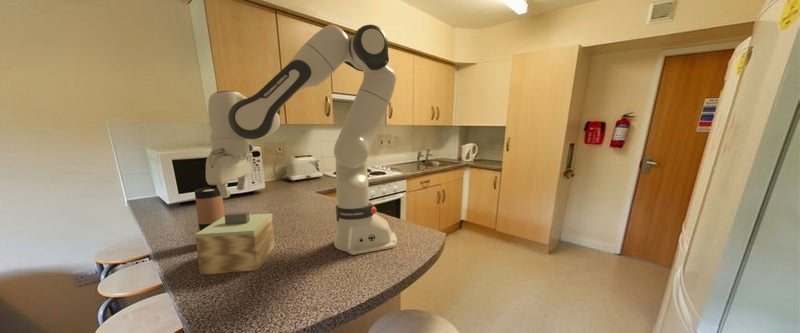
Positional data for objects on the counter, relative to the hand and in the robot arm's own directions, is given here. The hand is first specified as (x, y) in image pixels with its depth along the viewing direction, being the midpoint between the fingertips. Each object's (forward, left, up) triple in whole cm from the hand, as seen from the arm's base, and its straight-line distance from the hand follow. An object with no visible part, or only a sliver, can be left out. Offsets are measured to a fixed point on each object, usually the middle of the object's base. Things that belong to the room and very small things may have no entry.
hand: (233, 193), depth 75 cm
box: (0, 0, -21) cm, 21 cm away
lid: (0, 0, -12) cm, 12 cm away
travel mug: (+15, -14, -22) cm, 30 cm away
